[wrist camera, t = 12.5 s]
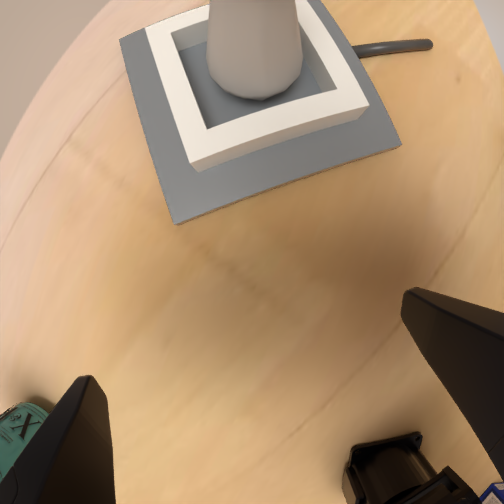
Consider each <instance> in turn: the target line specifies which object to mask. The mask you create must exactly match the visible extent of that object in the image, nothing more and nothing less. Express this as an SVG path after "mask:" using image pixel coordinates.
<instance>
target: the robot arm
mask: <svg viewBox="0 0 504 504" xmlns="http://www.w3.org/2000/svg"><path fill="white" fill-rule="evenodd" d="M401 318H402V321H403V322H404V324H405V326H406V327H407V329H408V331H409V332H410V334H411V336H412V337H413V339H414V341H415V343H416V344H417V346H418V348H419V350H420V351H421V353H422V355H423V356H424V358H425V359H426V361H427V362H428V364H429V365H430V367H431V368H432V369H433V371H434V372H435V374H436V375H437V376H438V378H439V379H440V381H441V382H442V384H443V385H444V387H445V388H446V389H447V391H448V392H449V394H450V395H451V397H452V398H453V400H454V401H455V403H456V404H457V406H458V407H459V409H460V410H461V412H462V413H463V415H464V416H465V418H466V420H467V421H468V423H469V424H470V426H471V427H472V429H473V431H474V432H475V434H476V435H477V437H478V439H479V440H480V442H481V443H482V445H483V447H484V448H485V450H486V452H487V453H488V455H489V457H490V459H491V460H492V462H493V464H494V466H495V467H496V469H497V471H498V473H499V474H500V476H501V478H502V480H503V481H504V313H502V312H499V311H495V310H492V309H489V308H486V307H482V306H479V305H476V304H472V303H469V302H466V301H462V300H459V299H456V298H453V297H449V296H446V295H443V294H439V293H436V292H432V291H429V290H426V289H422V288H419V287H414V288H411V289H409V290H406V291H405V292H404V295H403V301H402V307H401ZM422 438H423V436H422V434H421V433H420V432H415V433H412V434H408V435H404V436H400V437H396V438H392V439H387V440H383V441H378V442H373V443H368V444H363V445H358V446H355V447H353V448H352V449H351V453H350V459H349V466H348V467H347V468H346V469H345V472H344V478H343V483H342V489H343V492H344V496H345V498H346V501H347V504H482V502H481V500H480V499H479V498H478V496H477V495H476V493H475V492H474V491H473V490H472V489H471V488H470V487H469V485H467V484H466V483H465V482H464V481H463V480H462V479H461V478H460V477H459V476H458V475H457V474H456V473H455V472H454V471H453V470H452V469H451V468H450V467H449V466H446V467H445V468H444V469H442V471H441V472H440V473H439V474H437V472H436V471H435V470H434V468H433V467H432V466H431V464H430V463H429V462H428V460H427V459H426V458H425V456H424V455H423V454H422V453H421V451H420V450H419V449H420V445H421V441H422ZM358 450H359V451H358ZM356 451H358V452H356ZM0 504H116V499H115V485H114V467H113V447H112V438H111V430H110V421H109V412H108V401H107V397H106V395H105V393H104V391H103V390H102V389H101V387H100V386H99V384H98V383H97V381H96V380H95V378H94V377H93V376H92V375H85V376H79V377H78V378H77V379H76V380H75V381H74V382H73V384H72V385H71V386H70V387H69V389H68V390H67V391H66V393H65V394H64V395H63V396H62V398H61V399H60V400H59V402H58V403H57V404H56V406H55V407H54V408H53V410H52V411H51V412H50V414H49V415H48V416H47V418H46V419H45V420H44V422H43V423H42V424H41V426H40V427H39V428H38V430H37V431H36V433H35V434H34V435H33V437H32V438H31V439H30V441H29V442H28V444H27V445H26V446H25V448H24V449H23V451H22V452H21V454H20V455H19V456H18V458H17V459H16V461H15V462H14V464H13V466H11V468H10V469H9V471H8V472H7V474H6V475H5V477H4V478H3V479H2V481H1V482H0Z"/></svg>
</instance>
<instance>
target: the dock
mask: <svg viewBox="0 0 504 504" xmlns="http://www.w3.org/2000/svg"><path fill="white" fill-rule="evenodd" d="M295 3H296V10H297V16H298V23H299V30H300V37H301V45H302V53H303V61H302V67H301V72H300V75H299V77H298V78H297V79H296V80H295V81H294V82H293V83H292V84H291V85H290V86H289V87H288V88H287V89H286V90H285V91H283V92H281V93H278V94H276V95H273V96H271V97H269V98H266V99H265V100H263V101H258V100H253V99H244V98H241V97H235V96H233V95H231V94H229V93H227V92H225V91H224V90H223V89H222V88H221V87H220V86H219V85H218V84H217V83H216V82H215V81H214V80H213V79H212V77H211V76H210V73H209V69H208V64H207V60H206V50H207V33H208V18H209V5H210V4H207V5H204V6H201V7H197V8H194V9H191V10H189V11H186V12H183V13H180V14H177V15H175V16H172V17H169V18H167V19H164V20H162V21H159V22H157V23H154V24H152V25H149V26H147V27H145V28H142V29H140V30H138V31H136V32H134V33H131V34H129V35H127V36H125V37H123V38H121V39H119V42H120V46H121V50H122V54H123V58H124V62H125V66H126V70H127V74H128V77H129V81H130V85H131V89H132V92H133V96H134V100H135V103H136V107H137V110H138V114H139V117H140V121H141V124H142V128H143V131H144V134H145V138H146V141H147V144H148V147H149V151H150V154H151V157H152V160H153V163H154V166H155V170H156V173H157V176H158V179H159V182H160V185H161V188H162V191H163V194H164V197H165V200H166V203H167V206H168V209H169V212H170V214H171V217H172V220H173V223H174V225H180V224H183V223H185V222H188V221H190V220H193V219H195V218H198V217H200V216H203V215H206V214H208V213H211V212H213V211H216V210H218V209H221V208H224V207H226V206H229V205H231V204H234V203H237V202H239V201H242V200H245V199H247V198H250V197H253V196H255V195H258V194H261V193H264V192H266V191H269V190H272V189H275V188H277V187H280V186H283V185H286V184H289V183H292V182H294V181H297V180H300V179H303V178H306V177H309V176H312V175H315V174H318V173H321V172H324V171H326V170H329V169H332V168H336V167H339V166H342V165H345V164H348V163H351V162H354V161H357V160H360V159H363V158H366V157H370V156H373V155H376V154H379V153H383V152H386V151H389V150H392V149H396V148H398V147H399V146H401V145H402V143H401V141H400V139H399V136H398V134H397V132H396V130H395V127H394V125H393V123H392V121H391V119H390V117H389V115H388V112H387V110H386V108H385V106H384V104H383V102H382V100H381V98H380V96H379V94H378V93H377V91H376V89H375V87H374V85H373V83H372V81H371V79H370V78H369V76H368V74H367V72H366V70H365V69H364V67H363V65H362V63H361V62H360V60H359V58H360V57H366V56H373V55H380V54H387V53H395V52H404V51H415V50H428V49H432V47H433V43H432V41H431V40H429V39H414V40H400V41H389V42H380V43H372V44H364V45H357V46H351V45H350V43H349V42H348V40H347V39H346V37H345V36H344V34H343V32H342V31H341V29H340V28H339V26H338V25H337V23H336V22H335V20H334V19H333V17H332V16H331V15H330V13H329V12H328V10H327V9H326V8H325V6H324V5H323V3H322V2H321V1H320V0H295Z"/></svg>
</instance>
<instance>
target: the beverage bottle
mask: <svg viewBox="0 0 504 504" xmlns="http://www.w3.org/2000/svg"><path fill="white" fill-rule="evenodd" d="M16 404H17V403H16ZM13 406H14V405H13ZM9 409H10V408H9ZM9 409H7V410H6V411H5V412H4V413H3V414H2V415H1V414H0V482H1V481H2V479H3V478H4V477H5V475H6V474H7V472H8V471H9V469H10V468H11V466H13V464H14V462H15V461H16V459H17V458H18V456H19V455H20V454H21V452H22V451H23V449H24V448H25V446H26V445H27V444H28V442H29V441H30V439H31V438H32V437H33V435H34V434H35V433H36V431H37V430H38V428H39V427H40V426H41V424H42V423H43V422H44V420H45V419H46V418H47V416H48V415H49V414H48V413H47V412H46V411H45V410H44V409H42V408H41V407H39V406H37V405H35V404H33V403H29V402H25V403H20V404H18V405H16V406H15V407H14V408H12V407H11V410H9ZM7 411H8V412H7Z"/></svg>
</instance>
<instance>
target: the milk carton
mask: <svg viewBox="0 0 504 504" xmlns="http://www.w3.org/2000/svg"><path fill="white" fill-rule="evenodd" d="M479 499H480V500H481V502H482V504H504V483H492V484H491V485H490V486H489V487H488V489H487V490H486V491H485V492H484V493H483V494H482V496H481V497H480V498H479Z"/></svg>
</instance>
